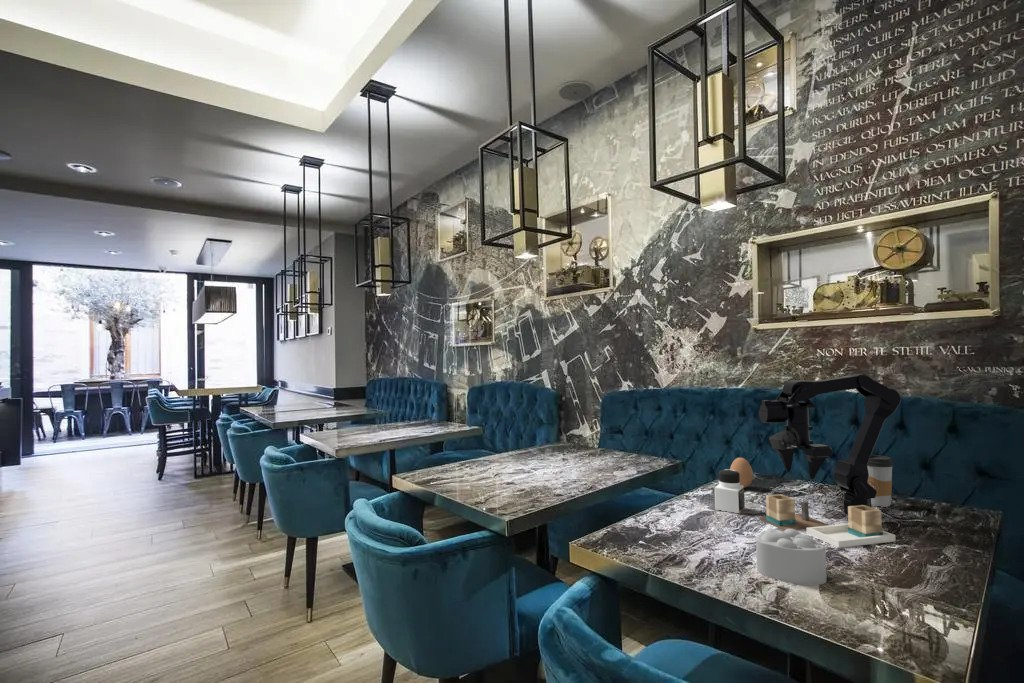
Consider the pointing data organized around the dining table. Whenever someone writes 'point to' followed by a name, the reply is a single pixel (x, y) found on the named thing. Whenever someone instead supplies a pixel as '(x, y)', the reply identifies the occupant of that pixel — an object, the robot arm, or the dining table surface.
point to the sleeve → (864, 521)
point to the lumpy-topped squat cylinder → (791, 557)
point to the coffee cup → (880, 479)
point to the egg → (743, 471)
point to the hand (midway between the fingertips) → (799, 475)
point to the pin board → (800, 520)
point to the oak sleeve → (780, 510)
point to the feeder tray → (846, 536)
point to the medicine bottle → (729, 492)
